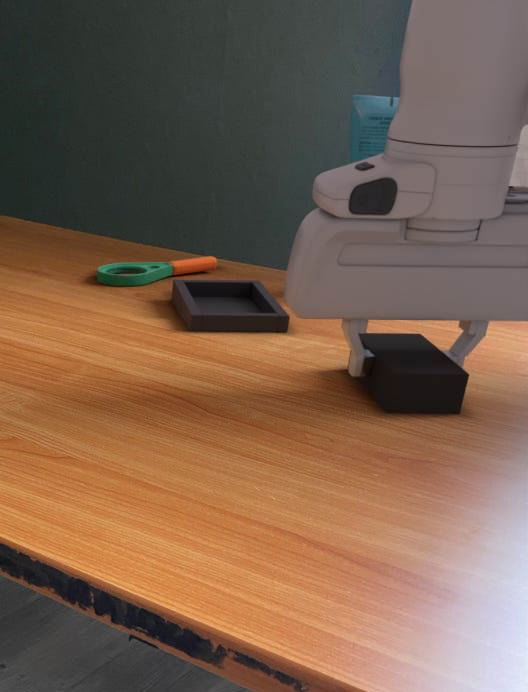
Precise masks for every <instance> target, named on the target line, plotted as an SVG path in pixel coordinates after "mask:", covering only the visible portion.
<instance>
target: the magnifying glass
mask: <svg viewBox="0 0 528 692" xmlns="http://www.w3.org/2000/svg"><path fill="white" fill-rule="evenodd" d="M217 267H218V260H217V258H216V257H215V256H212V255H208V256H200V257H195V258H186V259H179V260H178V259H177V260H171V261H167V262H166V261H163V262H162V261H157V262H156V261H155V262H153V261H150V262H149V261H148V262H147V261H146V262H145V261H143V262H114V263H109V264H104V265H101V266H98V267H97V270H96V281H97V282H98V283H99V284H102V285H107V286H113V287H136V286H142V285H147V284H150V283H153V282H156V281H159V280H161V279H164V278H167V277H170V276H178V275H185V274H191V273H199V272H205V271H206V272H207V271H213V270H215V269H216V268H217Z"/></svg>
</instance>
